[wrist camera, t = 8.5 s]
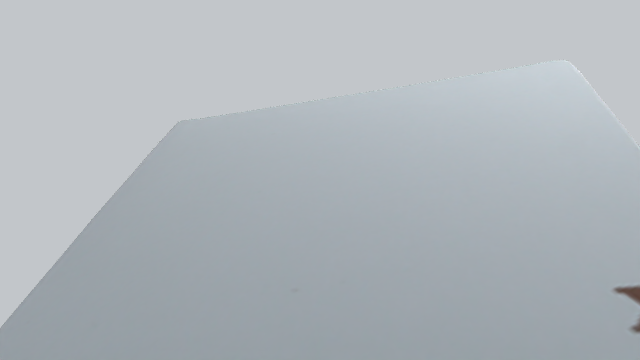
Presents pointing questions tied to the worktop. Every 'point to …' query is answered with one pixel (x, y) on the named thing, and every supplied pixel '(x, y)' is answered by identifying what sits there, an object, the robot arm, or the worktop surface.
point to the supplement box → (364, 234)
